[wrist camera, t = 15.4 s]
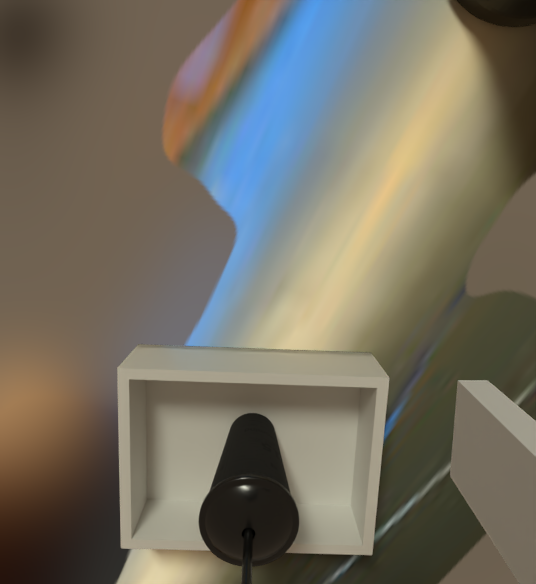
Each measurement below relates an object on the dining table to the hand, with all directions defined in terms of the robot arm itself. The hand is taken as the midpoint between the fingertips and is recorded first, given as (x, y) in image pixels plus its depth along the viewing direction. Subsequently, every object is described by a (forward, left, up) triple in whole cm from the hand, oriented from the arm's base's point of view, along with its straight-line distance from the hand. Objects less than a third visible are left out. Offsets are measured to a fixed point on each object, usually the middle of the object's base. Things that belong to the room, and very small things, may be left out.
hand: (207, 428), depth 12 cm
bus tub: (-1, +18, -34) cm, 38 cm away
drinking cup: (-1, +18, -33) cm, 38 cm away
